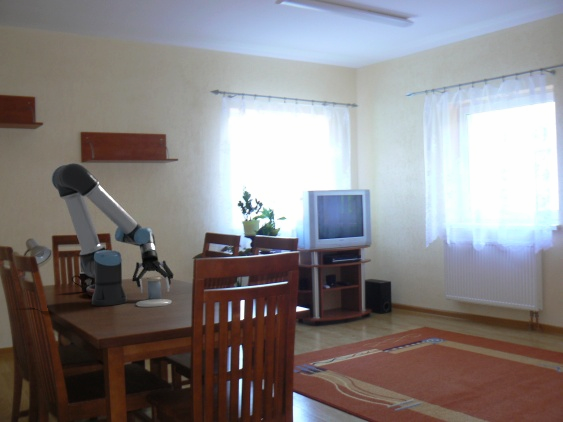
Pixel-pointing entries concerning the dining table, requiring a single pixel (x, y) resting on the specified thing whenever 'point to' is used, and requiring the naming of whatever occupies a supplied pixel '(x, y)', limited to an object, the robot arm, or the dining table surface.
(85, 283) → the coffee mug
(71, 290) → the dining table surface
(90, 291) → the dish
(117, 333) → the dining table surface
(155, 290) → the jar
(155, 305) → the plate
